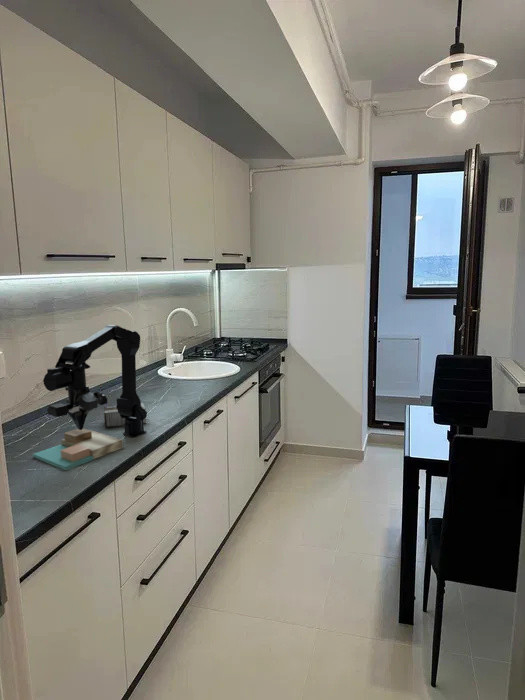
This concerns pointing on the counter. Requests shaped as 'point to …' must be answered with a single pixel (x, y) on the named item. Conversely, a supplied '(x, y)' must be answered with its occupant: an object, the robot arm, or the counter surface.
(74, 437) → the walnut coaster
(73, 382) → the robot arm
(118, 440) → the deck
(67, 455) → the blush pink tile
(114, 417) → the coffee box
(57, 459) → the mat
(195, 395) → the counter surface
